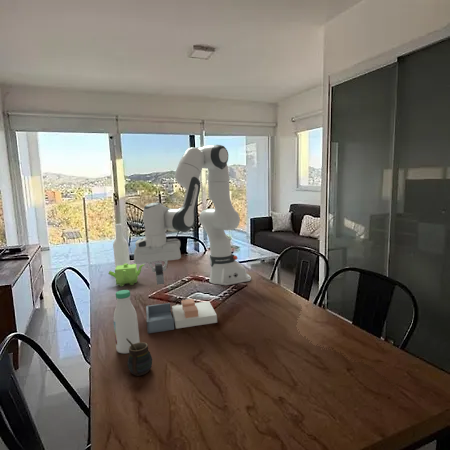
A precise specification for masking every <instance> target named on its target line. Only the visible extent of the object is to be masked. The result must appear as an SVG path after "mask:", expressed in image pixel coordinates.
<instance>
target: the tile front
mask: <svg viewBox="0 0 450 450" xmlns="http://www.w3.org/2000/svg"><path fill="white" fill-rule="evenodd" d="M183 308H184V315H185V318H189V317H196V316H198V309H197V307H196V306H189V307H183Z"/></svg>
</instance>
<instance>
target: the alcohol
mask: <svg viewBox="0 0 450 450" xmlns="http://www.w3.org/2000/svg"><path fill="white" fill-rule="evenodd" d="M114 225H115V239H114V240H113V244H112V245H113V246H112V248H113V256H114V257H113V258H114V267H115V269H116V267H117V266H119V265H123V264H128V265H130V264H131V262H130V253H129V243H128V241H127V239H126V238H125V236H124V231H123V224H122V223H115V224H114ZM115 269H114V270H115Z"/></svg>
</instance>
